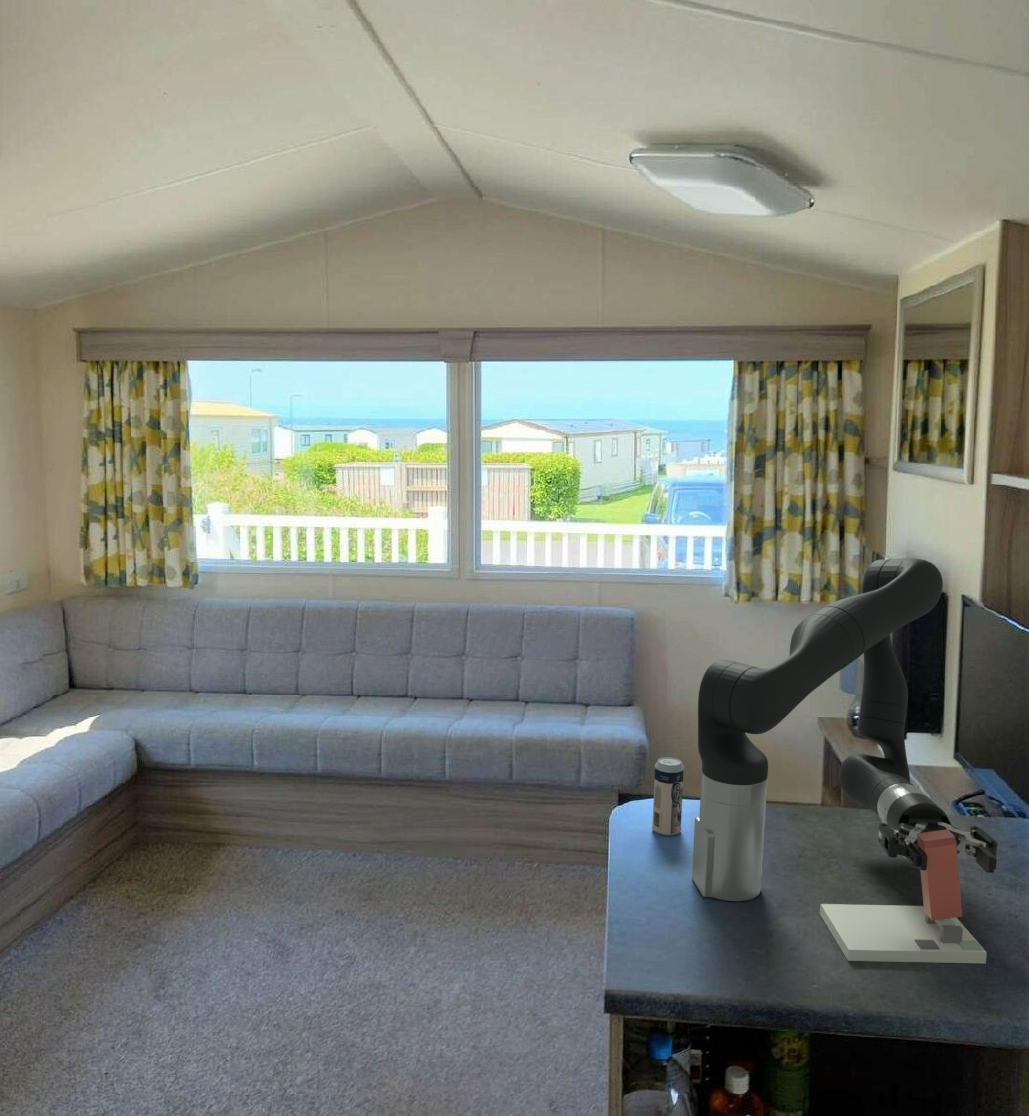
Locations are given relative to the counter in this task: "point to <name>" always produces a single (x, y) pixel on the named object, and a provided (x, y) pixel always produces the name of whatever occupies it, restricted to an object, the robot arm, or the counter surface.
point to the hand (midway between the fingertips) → (958, 864)
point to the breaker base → (898, 935)
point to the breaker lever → (940, 877)
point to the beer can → (668, 796)
